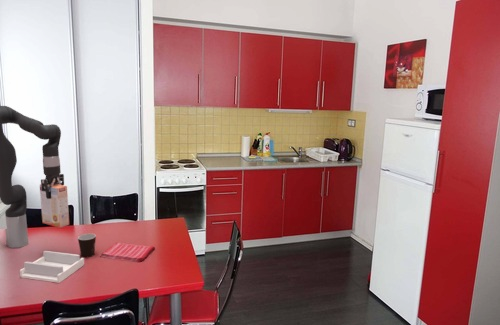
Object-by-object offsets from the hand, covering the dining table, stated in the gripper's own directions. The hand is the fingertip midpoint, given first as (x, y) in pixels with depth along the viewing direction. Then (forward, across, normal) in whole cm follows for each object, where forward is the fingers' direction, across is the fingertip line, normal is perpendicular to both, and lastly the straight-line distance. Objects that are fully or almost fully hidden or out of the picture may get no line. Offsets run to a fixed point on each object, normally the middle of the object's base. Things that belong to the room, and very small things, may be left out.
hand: (54, 196), depth 188 cm
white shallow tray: (+31, +17, +10) cm, 37 cm away
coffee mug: (+31, -4, +16) cm, 35 cm away
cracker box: (+15, 0, 0) cm, 15 cm away
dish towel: (+32, -9, +35) cm, 48 cm away
